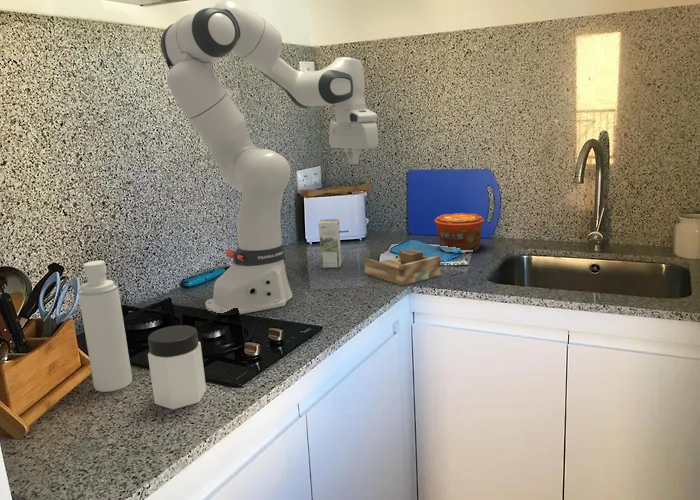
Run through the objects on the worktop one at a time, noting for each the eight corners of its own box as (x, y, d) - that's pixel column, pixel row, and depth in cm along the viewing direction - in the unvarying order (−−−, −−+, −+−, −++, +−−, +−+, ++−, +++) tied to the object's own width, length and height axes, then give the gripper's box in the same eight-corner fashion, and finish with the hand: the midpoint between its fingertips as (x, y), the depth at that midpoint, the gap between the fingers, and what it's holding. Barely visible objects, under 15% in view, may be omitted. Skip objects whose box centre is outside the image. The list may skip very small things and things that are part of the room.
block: (411, 270, 166) (411, 255, 165) (400, 267, 170) (400, 252, 169) (423, 267, 169) (423, 252, 168) (412, 264, 172) (412, 249, 171)
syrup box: (341, 263, 188) (339, 218, 184) (339, 268, 182) (336, 221, 179) (323, 264, 188) (320, 218, 185) (321, 269, 183) (318, 222, 179)
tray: (402, 285, 162) (401, 266, 160) (365, 273, 175) (364, 255, 174) (440, 275, 169) (440, 256, 168) (402, 264, 183) (401, 246, 182)
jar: (200, 382, 111) (192, 321, 108) (212, 399, 104) (204, 334, 101) (150, 395, 107) (141, 332, 104) (159, 414, 100) (150, 347, 97)
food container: (464, 257, 187) (464, 223, 184) (425, 250, 198) (424, 218, 196) (494, 247, 197) (494, 215, 195) (455, 241, 209) (454, 210, 206)
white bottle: (135, 374, 116) (116, 248, 110) (128, 389, 109) (107, 257, 103) (99, 378, 115) (78, 251, 109) (90, 394, 109) (67, 260, 103)
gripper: (322, 117, 180) (325, 163, 183) (362, 115, 163) (365, 166, 167) (339, 115, 183) (342, 161, 186) (381, 114, 167) (383, 164, 170)
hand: (353, 164), depth 176 cm, fingers closed
